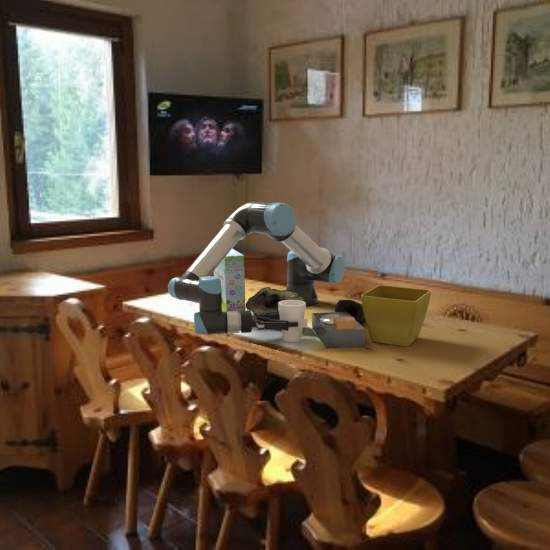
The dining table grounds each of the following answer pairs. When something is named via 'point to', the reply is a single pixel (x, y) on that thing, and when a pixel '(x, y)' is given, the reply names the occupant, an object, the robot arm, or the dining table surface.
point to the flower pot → (395, 313)
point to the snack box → (232, 281)
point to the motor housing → (338, 330)
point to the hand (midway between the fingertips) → (304, 319)
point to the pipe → (351, 309)
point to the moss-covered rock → (270, 299)
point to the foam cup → (291, 318)
